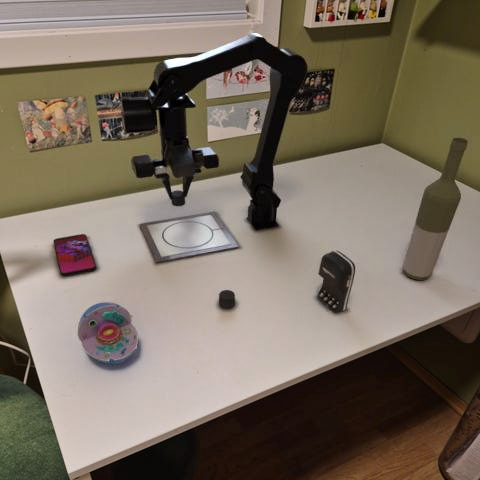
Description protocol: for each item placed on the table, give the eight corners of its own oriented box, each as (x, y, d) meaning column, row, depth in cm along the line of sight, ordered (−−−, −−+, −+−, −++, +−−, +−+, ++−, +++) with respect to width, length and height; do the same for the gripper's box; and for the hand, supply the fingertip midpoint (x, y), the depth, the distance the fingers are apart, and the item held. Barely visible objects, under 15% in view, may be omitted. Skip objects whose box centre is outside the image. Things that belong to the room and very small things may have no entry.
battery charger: (311, 297, 98) (319, 251, 90) (326, 292, 99) (334, 246, 92) (332, 316, 94) (342, 269, 86) (347, 310, 95) (358, 264, 87)
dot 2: (231, 298, 97) (231, 288, 96) (237, 307, 95) (237, 297, 93) (216, 301, 96) (216, 291, 95) (222, 310, 94) (222, 301, 92)
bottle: (438, 276, 105) (489, 143, 85) (417, 286, 102) (464, 150, 82) (414, 261, 109) (457, 130, 89) (393, 270, 106) (432, 137, 86)
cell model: (98, 384, 79) (87, 343, 72) (76, 341, 86) (64, 301, 80) (152, 362, 83) (147, 322, 76) (127, 323, 90) (120, 284, 84)
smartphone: (60, 274, 100) (52, 238, 111) (61, 277, 101) (53, 242, 111) (96, 267, 103) (85, 233, 113) (97, 270, 103) (86, 236, 113)
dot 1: (183, 199, 112) (182, 189, 110) (186, 205, 109) (186, 195, 108) (169, 201, 111) (169, 191, 109) (173, 207, 108) (172, 197, 107)
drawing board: (214, 213, 124) (214, 210, 124) (238, 247, 112) (239, 245, 111) (139, 225, 118) (139, 223, 118) (156, 263, 106) (156, 261, 105)
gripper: (137, 148, 91) (146, 220, 101) (228, 138, 96) (227, 207, 106) (126, 129, 98) (135, 197, 109) (210, 120, 104) (211, 186, 114)
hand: (177, 197), depth 109 cm, fingers closed on dot 1, 3 cm apart
